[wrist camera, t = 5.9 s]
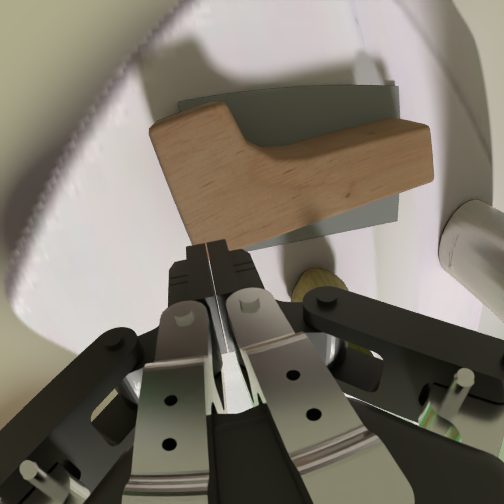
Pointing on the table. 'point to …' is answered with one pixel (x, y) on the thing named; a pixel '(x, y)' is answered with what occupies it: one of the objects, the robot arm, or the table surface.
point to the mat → (312, 136)
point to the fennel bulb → (319, 279)
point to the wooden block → (281, 173)
